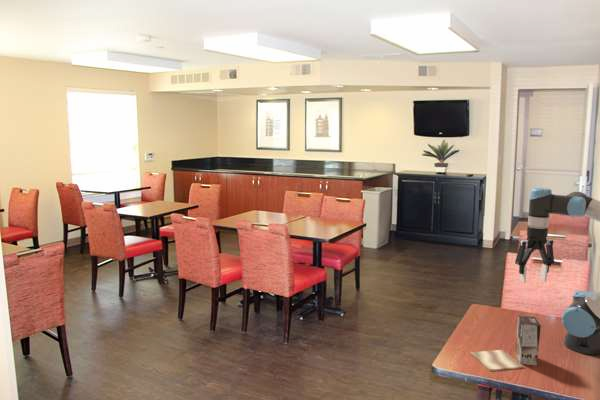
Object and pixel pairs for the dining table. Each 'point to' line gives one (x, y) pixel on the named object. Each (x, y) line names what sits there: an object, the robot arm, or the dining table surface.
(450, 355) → the dining table surface
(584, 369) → the dining table surface
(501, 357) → the beige board
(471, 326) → the dining table surface
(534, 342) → the coffee box
